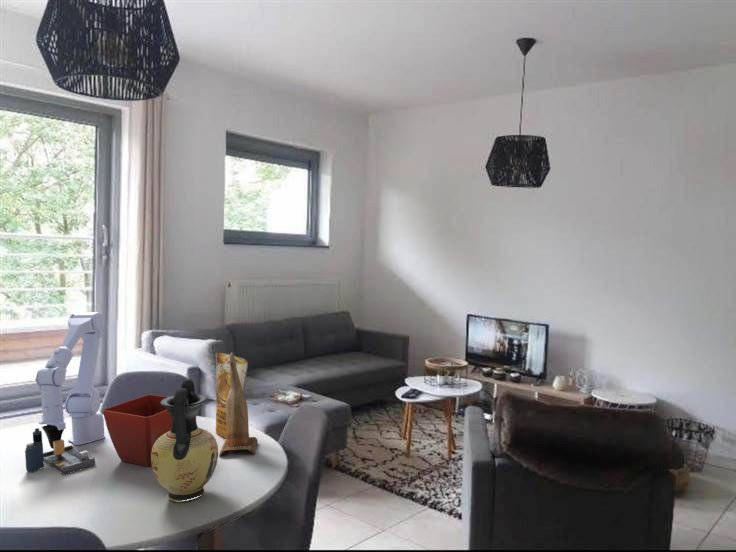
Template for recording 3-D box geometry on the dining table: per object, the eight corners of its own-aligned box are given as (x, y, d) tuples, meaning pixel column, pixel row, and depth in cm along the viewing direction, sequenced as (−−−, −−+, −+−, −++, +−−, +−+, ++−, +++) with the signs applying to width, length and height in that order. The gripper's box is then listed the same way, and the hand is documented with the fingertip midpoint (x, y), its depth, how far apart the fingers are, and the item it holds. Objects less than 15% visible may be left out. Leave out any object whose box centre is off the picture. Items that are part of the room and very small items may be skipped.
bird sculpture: (257, 443, 188) (253, 347, 187) (255, 455, 177) (251, 353, 176) (223, 446, 187) (218, 349, 186) (219, 458, 175) (214, 356, 174)
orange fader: (62, 454, 178) (61, 439, 178) (65, 455, 177) (64, 440, 177) (53, 456, 176) (53, 441, 176) (56, 458, 175) (55, 442, 175)
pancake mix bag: (226, 426, 205) (223, 350, 203) (252, 439, 191) (249, 357, 189) (209, 430, 201) (205, 353, 199) (234, 444, 186) (231, 361, 185)
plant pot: (196, 450, 182) (193, 399, 181) (150, 473, 165) (147, 417, 164) (151, 443, 190) (149, 393, 189) (104, 464, 173) (100, 410, 172)
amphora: (220, 504, 144) (215, 388, 142) (150, 515, 140) (144, 395, 138) (218, 477, 161) (214, 373, 159) (155, 485, 157) (150, 379, 155)
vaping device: (46, 466, 172) (43, 427, 171) (30, 473, 167) (28, 433, 166) (39, 465, 173) (37, 427, 172) (24, 472, 168) (21, 432, 167)
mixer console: (72, 451, 184) (71, 439, 184) (95, 465, 172) (94, 452, 172) (41, 459, 178) (40, 447, 177) (63, 474, 166) (63, 461, 165)
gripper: (30, 403, 180) (33, 445, 181) (46, 412, 170) (49, 456, 171) (54, 398, 185) (56, 439, 186) (71, 406, 175) (74, 449, 176)
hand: (55, 447), depth 179 cm, fingers closed
